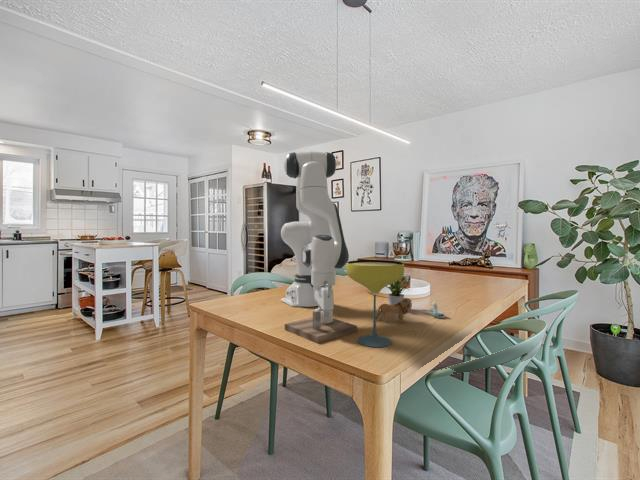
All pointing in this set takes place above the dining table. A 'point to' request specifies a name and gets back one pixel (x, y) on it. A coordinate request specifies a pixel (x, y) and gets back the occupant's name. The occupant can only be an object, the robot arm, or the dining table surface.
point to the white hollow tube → (322, 316)
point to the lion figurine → (395, 309)
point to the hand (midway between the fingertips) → (323, 317)
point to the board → (320, 328)
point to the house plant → (396, 291)
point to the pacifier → (436, 311)
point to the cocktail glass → (375, 288)
